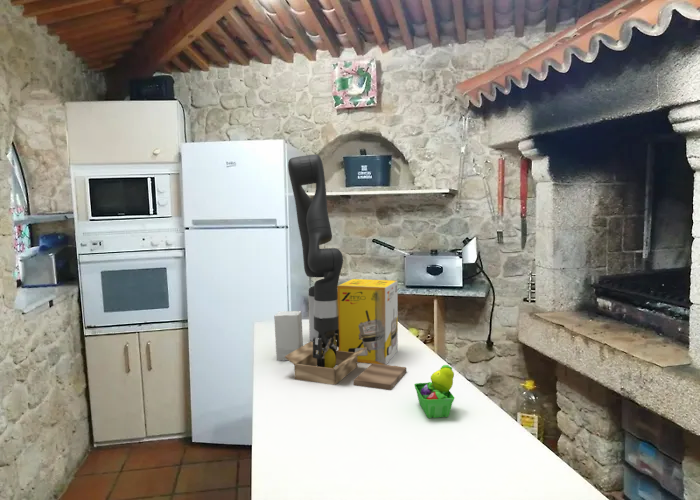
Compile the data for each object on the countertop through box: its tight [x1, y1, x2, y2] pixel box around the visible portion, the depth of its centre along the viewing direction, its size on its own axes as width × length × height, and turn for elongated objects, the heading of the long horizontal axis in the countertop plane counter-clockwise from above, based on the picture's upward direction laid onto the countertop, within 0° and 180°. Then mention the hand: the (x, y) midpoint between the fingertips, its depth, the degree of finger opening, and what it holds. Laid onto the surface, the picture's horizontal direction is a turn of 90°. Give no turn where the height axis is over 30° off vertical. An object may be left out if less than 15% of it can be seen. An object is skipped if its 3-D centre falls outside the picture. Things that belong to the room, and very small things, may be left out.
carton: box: [285, 341, 367, 386], centre depth 151 cm, size 17×20×7 cm
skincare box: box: [273, 310, 304, 362], centre depth 166 cm, size 8×7×16 cm
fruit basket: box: [414, 364, 455, 419], centre depth 122 cm, size 11×9×11 cm
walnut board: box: [353, 363, 407, 391], centre depth 146 cm, size 16×11×2 cm
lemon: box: [322, 348, 336, 368], centre depth 151 cm, size 6×6×8 cm
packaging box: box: [337, 278, 399, 365], centre depth 168 cm, size 16×16×25 cm
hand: (326, 366), depth 151 cm, fingers open, 8 cm apart
